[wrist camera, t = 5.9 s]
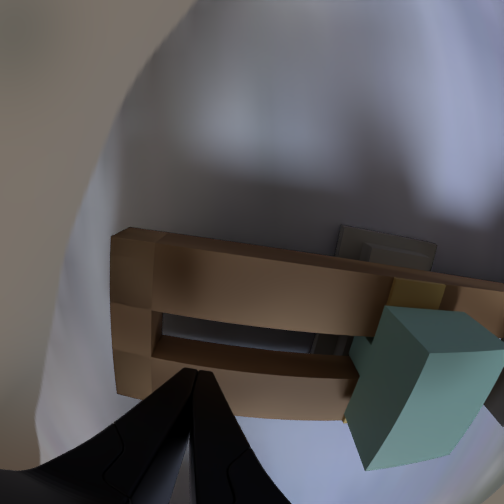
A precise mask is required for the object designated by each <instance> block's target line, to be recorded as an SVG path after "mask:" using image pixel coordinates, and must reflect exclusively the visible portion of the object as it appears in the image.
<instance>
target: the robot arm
mask: <svg viewBox="0 0 504 504" xmlns="http://www.w3.org/2000/svg"><path fill="white" fill-rule="evenodd" d="M189 435H190V438H189ZM188 440H189V481H190V504H291V503H290V501H289V500H288V499H287V498H286V497H285V496H284V494H283V493H282V492H281V491H280V490H279V489H278V487H277V486H276V485H275V484H274V482H273V481H272V480H271V478H270V477H269V476H268V474H267V473H266V472H265V470H264V468H263V467H262V465H261V464H260V462H259V460H258V459H257V457H256V455H255V453H254V452H253V450H252V449H251V446H250V445H249V443H248V441H247V439H246V437H245V435H244V433H243V432H242V430H241V428H240V426H239V424H238V422H237V420H236V418H235V416H234V414H233V412H232V410H231V408H230V406H229V404H228V402H227V400H226V398H225V396H224V394H223V392H222V390H221V388H220V386H219V384H218V382H217V380H216V378H215V375H214V373H213V372H211V371H206V370H199V371H198V370H197V369H193V368H187V367H184V368H182V369H181V370H180V371H179V372H177V373H176V374H175V375H174V376H172V377H171V378H170V379H169V380H167V381H166V382H165V383H164V384H162V385H161V386H160V387H159V388H157V389H156V390H155V391H154V392H152V393H151V394H150V395H149V396H147V397H146V398H145V399H144V400H142V401H141V402H140V403H138V404H137V405H136V406H135V407H133V408H132V409H131V410H129V411H128V412H127V413H125V414H124V415H123V416H122V417H120V418H119V419H118V420H116V421H115V422H114V424H113V423H112V424H111V425H109V426H108V427H107V428H105V429H104V430H103V431H101V432H100V433H98V434H97V435H95V436H94V437H93V438H91V439H89V440H88V441H86V442H84V443H83V444H81V445H79V446H77V447H76V448H74V449H72V450H70V451H68V452H66V453H64V454H62V455H60V456H58V457H56V458H54V459H52V460H50V461H48V462H46V463H44V464H42V465H40V466H38V467H35V468H32V469H28V470H22V471H13V470H3V469H0V504H169V501H170V498H171V495H172V491H173V488H174V485H175V482H176V479H177V475H178V472H179V469H180V466H181V463H182V459H183V456H184V453H185V450H186V447H187V443H188Z"/></svg>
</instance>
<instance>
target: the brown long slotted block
mask: <svg viewBox="0 0 504 504" xmlns="http://www.w3.org/2000/svg"><path fill="white" fill-rule="evenodd" d="M436 248H437V245H436V244H434V243H431V242H426V241H421V240H417V239H412V238H407V237H402V236H397V235H392V234H387V233H382V232H377V231H372V230H366V229H361V228H356V227H350V226H345V225H341V228H340V233H339V238H338V243H337V247H336V252H335V257H333V256H326V255H320V254H313V253H306V252H300V251H293V250H286V249H279V248H273V247H266V246H259V245H252V244H245V243H238V242H232V241H225V240H218V239H211V238H204V237H197V236H190V235H183V234H176V233H169V232H162V231H154V230H147V229H140V228H133V227H129V228H127V229H125V230H123V231H121V232H119V233H117V234H115V235H113V236H111V245H110V314H111V335H112V349H113V362H114V372H115V381H116V390H117V394H120V395H124V396H128V397H132V398H136V399H140V400H144V399H145V398H146V397H147V396H149V395H150V394H151V393H152V392H154V391H155V390H156V389H157V388H159V387H160V386H161V385H162V384H164V383H165V382H166V381H167V380H169V379H170V378H171V377H172V376H174V375H175V374H176V373H177V372H179V371H180V370H181V369H182V368H184V367H187V368H193V369H197V370H198V371H199V370H206V371H211V372H213V373H214V375H215V378H216V380H217V382H218V384H219V386H220V388H221V390H222V392H223V394H224V396H225V398H226V400H227V402H228V404H229V406H230V408H231V410H232V412H233V414H234V416H244V417H254V418H267V419H284V420H319V421H329V420H342V421H343V423H347V421H346V418H345V415H344V412H345V410H346V408H347V406H348V403H349V401H350V399H351V396H352V394H353V392H354V389H355V387H356V384H357V382H358V379H359V377H360V375H359V373H358V371H357V369H356V367H355V365H354V363H353V361H352V359H351V358H350V356H349V351H350V348H351V345H352V342H353V339H354V336H366V337H374V336H375V334H376V331H377V328H378V325H379V322H380V318H381V315H382V312H383V309H384V306H385V305H386V306H397V307H408V308H420V309H432V310H445V311H459V312H465V313H466V314H468V315H469V316H470V317H472V318H473V319H474V320H476V321H477V322H478V323H480V324H481V325H482V326H483V327H485V328H486V329H487V330H489V331H490V332H491V333H493V334H494V335H495V336H496V337H498V338H501V340H502V341H503V342H504V283H499V282H492V281H486V280H480V279H474V278H468V277H461V276H455V275H449V274H443V273H436V272H431V268H432V264H433V260H434V256H435V253H436ZM163 312H164V313H169V314H175V315H181V316H187V317H193V318H199V319H206V320H213V321H219V322H226V323H234V324H241V325H249V326H257V327H265V328H274V329H283V330H292V331H302V332H313V333H316V334H315V338H314V341H313V345H312V348H311V352H310V354H307V353H295V352H284V351H274V350H264V349H255V348H247V347H239V346H231V345H224V344H217V343H210V342H204V341H197V340H191V339H185V338H179V337H174V336H168V335H163V334H162V321H163ZM484 406H485V407H486V408H487V409H488V410H489V411H490V413H491V414H492V415H493V416H494V417H495V418H496V420H497V421H498V422H499V423H500V424H501V426H502V427H504V367H503V369H502V371H501V373H500V375H499V377H498V379H497V381H496V383H495V384H494V386H493V388H492V390H491V392H490V394H489V395H488V397H487V399H486V400H485V402H484Z"/></svg>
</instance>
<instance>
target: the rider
mask: <svg viewBox="0 0 504 504" xmlns="http://www.w3.org/2000/svg"><path fill="white" fill-rule="evenodd" d="M349 356H350V358H351V359H352V361H353V363H354V365H355V367H356V369H357V371H358V373H359V375H360V377H359V379H358V382H357V384H356V387H355V389H354V392H353V394H352V396H351V399H350V401H349V403H348V406H347V408H346V410H345V412H344V415H345V418H346V421H347V423H348V426H349V429H350V431H351V434H352V437H353V439H354V442H355V445H356V448H357V450H358V453H359V456H360V459H361V461H362V464H363V467H364V470H365V471H370V470H377V469H384V468H390V467H396V466H402V465H407V464H412V463H417V462H421V461H426V460H430V459H434V458H438V457H442V456H446V455H449V454H450V453H451V452H452V450H453V449H454V448H455V446H456V445H457V444H458V442H459V441H460V439H461V438H462V436H463V435H464V434H465V432H466V431H467V429H468V428H469V426H470V425H471V423H472V422H473V420H474V418H475V417H476V415H477V414H478V412H479V411H480V409H481V407H482V406H483V404H484V402H485V400H486V399H487V397H488V395H489V394H490V392H491V390H492V388H493V386H494V384H495V383H496V381H497V379H498V377H499V375H500V373H501V371H502V369H503V367H504V342H503V341H502V340H500V339H499V338H498V337H496V336H495V335H494V334H493V333H491V332H490V331H489V330H487V329H486V328H485V327H483V326H482V325H481V324H480V323H478V322H477V321H476V320H474V319H473V318H472V317H470V316H469V315H468V314H466V313H465V312H459V311H445V310H432V309H420V308H408V307H397V306H386V305H385V306H384V309H383V312H382V315H381V318H380V322H379V325H378V328H377V331H376V334H375V336H374V337H366V336H354V339H353V342H352V345H351V348H350V351H349Z"/></svg>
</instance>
